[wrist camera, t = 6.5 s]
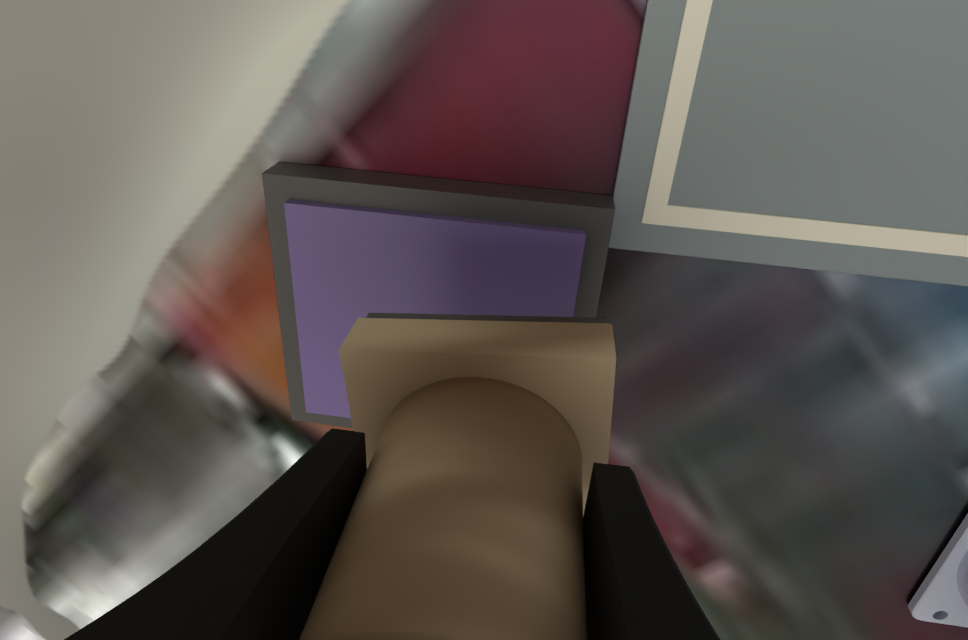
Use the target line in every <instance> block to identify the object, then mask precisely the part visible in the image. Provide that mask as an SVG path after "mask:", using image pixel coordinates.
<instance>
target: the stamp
mask: <svg viewBox="0 0 968 640" xmlns="http://www.w3.org/2000/svg"><path fill="white" fill-rule="evenodd" d="M339 355H340V360H341V365H342V371H343V376H344V381H345V387H346V392H347V397H348V403H349V408H350V414H351V419H352V424H353V430H354V431H355V432H363V433H365V445H366V463H367V471H366V474H365V476H364V479H363V481H362V484H361V486H360V489H359V491H358V494H357V496H356V499H355V501H354V504H353V506H352V509H351V511H350V514H349V516H348V519H347V521H346V524H345V526H344V529H343V531H342V534H341V536H340V539H339V541H338V544H337V546H336V549H335V551H334V554H333V556H332V559H331V561H330V564H329V566H328V569H327V571H326V574H325V576H324V579H323V581H322V584H321V586H320V589H319V591H318V594H317V596H316V599H315V601H314V604H313V606H312V609H311V611H310V614H309V616H308V619H307V621H306V624H305V626H304V629H303V631H302V634H301V636H300V639H299V640H587V634H586V598H585V562H584V527H583V516H584V510H585V505H586V500H587V495H588V489H589V484H590V479H591V474H592V469H593V463H594V462H595V463H603V464H608V459H609V446H610V433H611V420H612V408H613V395H614V382H615V369H616V351H615V343H614V335H613V327H612V324H610V323H606V319H605V318H597V317H552V316H506V315H460V314H414V313H368V315H367V317H366V318H357V320H356V322H355V323H354V325H353V327H352V328H351V330H350V332H349V333H348V335H347V337H346V338H345V340H344V342H343V343H342V345H341V347H340V348H339Z"/></svg>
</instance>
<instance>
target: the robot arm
mask: <svg viewBox="0 0 968 640" xmlns="http://www.w3.org/2000/svg"><path fill="white" fill-rule="evenodd" d="M366 471H367V463H366V445H365V433H363V432H355V431H347V430H339V429H331V430H330V431H328V432H327V433H326V434H325V435H324V436H323V437H322V438H321V439H319V440H318V441H317V442H316V443H315V444H314V445H313V446H312V447H311V448H310V449H309V450H308V451H307V452H306V453H305V454H304V455H303V456H302V457H301V458H300V459H299V460H298V461H297V462H296V463H295V464H294V465H293V466H291V467H290V468H289V469H288V470H287V471H286V472H285V473H284V474H283V475H282V476H281V477H280V478H279V479H278V480H277V481H276V482H274V483H273V484H272V485H271V486H270V487H269V488H268V489H267V490H265V491H264V492H263V493H262V494H261V495H260V496H259V497H258V498H257V499H255V500H254V501H253V502H252V503H251V504H250V505H249V506H248V507H247V508H245V509H244V510H243V511H242V512H241V513H240V514H238V515H237V516H236V517H235V518H234V519H233V520H231V521H230V522H229V523H228V524H226V525H225V526H224V527H223V528H222V529H220V530H219V531H218V532H217V533H215V534H214V535H213V536H212V537H211V538H209V539H208V540H207V541H206V542H204V543H203V544H202V545H201V546H200V547H198V548H197V549H196V550H195V551H193V552H192V553H191V554H189V555H188V556H187V557H185V558H184V559H183V560H182V561H180V562H179V563H178V564H176V565H175V566H174V567H172V568H171V569H170V570H168V571H167V572H165V573H164V574H163V575H161V576H160V577H159V578H157V579H156V580H154V581H153V582H151V583H150V584H149V585H147V586H146V587H144V588H143V589H142V590H140V591H139V592H137V593H136V594H134V595H133V596H131V597H130V598H128V599H127V600H125V601H124V602H122V603H121V604H119V605H118V606H116V607H115V608H113V609H112V610H110V611H109V612H107V613H106V614H104V615H103V616H101V617H99V618H98V619H96V620H95V621H93V622H92V623H90V624H88V625H87V626H85V627H84V628H82V629H80V630H79V631H77V632H76V633H74V634H72V635H71V636H69V637H68V638H66V639H65V640H299V639H300V636H301V634H302V631H303V629H304V626H305V624H306V621H307V619H308V616H309V614H310V611H311V609H312V606H313V604H314V601H315V599H316V596H317V594H318V591H319V589H320V586H321V584H322V581H323V579H324V576H325V574H326V571H327V569H328V566H329V564H330V561H331V559H332V556H333V554H334V551H335V549H336V546H337V544H338V541H339V539H340V536H341V534H342V531H343V529H344V526H345V524H346V521H347V519H348V516H349V514H350V511H351V509H352V506H353V504H354V501H355V499H356V496H357V494H358V491H359V489H360V486H361V484H362V481H363V479H364V476H365V474H366ZM583 527H584V562H585V598H586V634H587V640H720V639H719V637H718V635H717V634H716V632H715V631H714V629H713V627H712V626H711V624H710V622H709V621H708V619H707V617H706V616H705V614H704V612H703V611H702V609H701V608H700V606H699V604H698V603H697V601H696V599H695V597H694V596H693V594H692V592H691V590H690V589H689V587H688V585H687V583H686V581H685V580H684V578H683V576H682V574H681V572H680V570H679V568H678V566H677V565H676V563H675V561H674V559H673V557H672V555H671V553H670V551H669V550H668V548H667V546H666V544H665V542H664V540H663V538H662V536H661V534H660V532H659V529H658V527H657V525H656V523H655V521H654V519H653V517H652V515H651V512H650V510H649V508H648V506H647V503H646V501H645V499H644V496H643V494H642V492H641V489H640V487H639V484H638V482H637V479H636V476H635V474H634V472H633V471H632V470H631V469H630V467H626V466H618V465H611V464H603V463H595V462H594V463H593V469H592V474H591V479H590V484H589V489H588V495H587V500H586V505H585V510H584V516H583ZM908 608H909V610H910V612H911V614H912V616H913V617H914V618H915V619H918V620H921V621H928V622H935V623H941V624H948V625H955V626H962V627H968V514H967V515H966V517H965V518H964V520H963V521H962V523H961V524H960V526H959V527H958V529H957V530H956V532H955V533H954V535H953V537H952V538H951V540H950V541H949V543H948V544H947V546H946V547H945V549H944V550H943V552H942V553H941V555H940V557H939V558H938V560H937V561H936V563H935V564H934V566H933V567H932V569H931V570H930V572H929V573H928V575H927V576H926V578H925V580H924V581H923V583H922V584H921V586H920V587H919V589H918V590H917V592H916V593H915V595H914V596H913V598H912V600H911V601H910V603H909V605H908Z"/></svg>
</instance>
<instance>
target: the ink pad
mask: <svg viewBox="0 0 968 640" xmlns="http://www.w3.org/2000/svg"><path fill="white" fill-rule="evenodd" d="M262 178H263V186H264V194H265V202H266V211H267V219H268V227H269V236H270V244H271V252H272V260H273V269H274V277H275V285H276V293H277V302H278V310H279V318H280V326H281V335H282V343H283V351H284V360H285V368H286V376H287V384H288V393H289V401H290V409H291V417H292V420H296V421H304V422H311V423H319V424H326V425H334V426H341V427H349V428H353V424H352V419H351V414H350V408H349V403H348V397H347V392H346V387H345V381H344V376H343V371H342V365H341V360H340V355H339V348H340V347H341V345H342V343H343V342H344V340H345V338H346V337H347V335H348V333H349V332H350V330H351V328H352V327H353V325H354V323H355V322H356V320H357V318H366V317H367V315H368V313H414V314H460V315H506V316H552V317H596V315H597V309H598V304H599V298H600V293H601V287H602V281H603V276H604V270H605V265H606V259H607V253H608V248H609V242H610V237H611V231H612V225H613V220H614V214H615V205H614V199H613V195H603V194H593V193H583V192H573V191H564V190H554V189H544V188H534V187H524V186H514V185H504V184H494V183H484V182H474V181H464V180H454V179H444V178H434V177H424V176H414V175H405V174H395V173H385V172H375V171H365V170H355V169H345V168H335V167H325V166H315V165H305V164H295V163H285V162H278V163H277V164H275V165H274V166H272V167H271V168H269V169H268V170H266V171H265V172H263V173H262Z"/></svg>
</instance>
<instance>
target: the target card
mask: <svg viewBox="0 0 968 640" xmlns="http://www.w3.org/2000/svg"><path fill="white" fill-rule="evenodd" d="M613 199H614V205H615V214H614V220H613V225H612V231H611V237H610V242H609V248H616V249H625V250H635V251H644V252H653V253H663V254H672V255H681V256H691V257H700V258H709V259H719V260H728V261H737V262H747V263H756V264H766V265H775V266H784V267H794V268H803V269H812V270H822V271H831V272H840V273H850V274H859V275H868V276H878V277H887V278H896V279H906V280H915V281H924V282H934V283H943V284H952V285H962V286H968V0H647V3H646V9H645V14H644V20H643V26H642V31H641V37H640V43H639V49H638V54H637V60H636V66H635V72H634V77H633V83H632V89H631V94H630V100H629V106H628V112H627V117H626V123H625V129H624V135H623V140H622V146H621V152H620V158H619V163H618V169H617V175H616V180H615V186H614V192H613Z"/></svg>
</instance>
